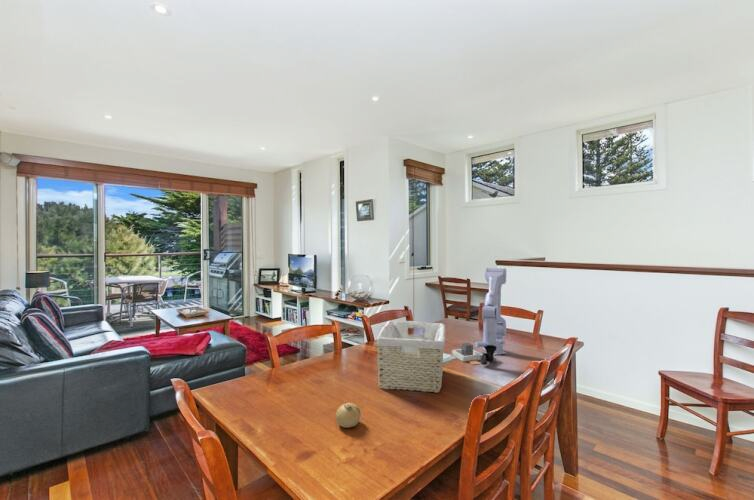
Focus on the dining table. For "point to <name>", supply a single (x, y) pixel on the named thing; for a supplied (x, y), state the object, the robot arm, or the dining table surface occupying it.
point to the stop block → (467, 349)
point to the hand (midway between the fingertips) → (489, 361)
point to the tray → (473, 357)
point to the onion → (348, 415)
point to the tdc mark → (474, 362)
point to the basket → (411, 356)
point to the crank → (484, 358)
